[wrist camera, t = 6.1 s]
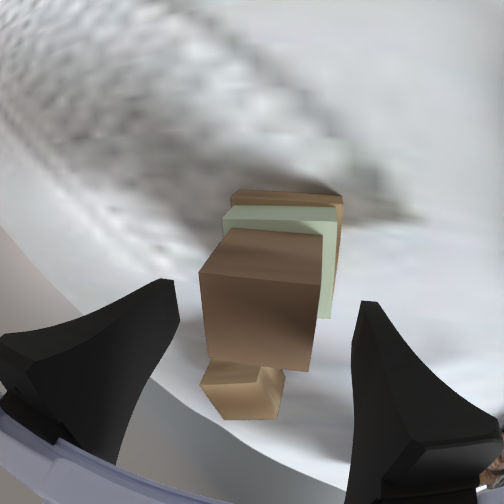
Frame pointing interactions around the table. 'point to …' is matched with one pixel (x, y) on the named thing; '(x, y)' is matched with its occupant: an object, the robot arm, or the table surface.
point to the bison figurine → (494, 473)
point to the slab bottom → (293, 200)
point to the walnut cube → (262, 297)
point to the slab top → (296, 222)
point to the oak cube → (243, 390)
